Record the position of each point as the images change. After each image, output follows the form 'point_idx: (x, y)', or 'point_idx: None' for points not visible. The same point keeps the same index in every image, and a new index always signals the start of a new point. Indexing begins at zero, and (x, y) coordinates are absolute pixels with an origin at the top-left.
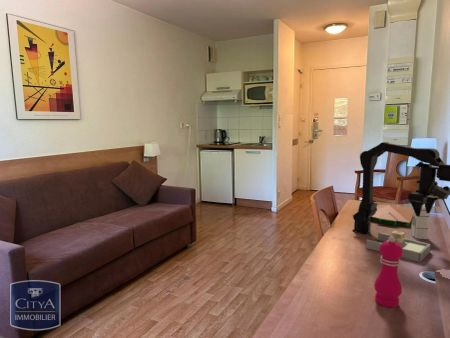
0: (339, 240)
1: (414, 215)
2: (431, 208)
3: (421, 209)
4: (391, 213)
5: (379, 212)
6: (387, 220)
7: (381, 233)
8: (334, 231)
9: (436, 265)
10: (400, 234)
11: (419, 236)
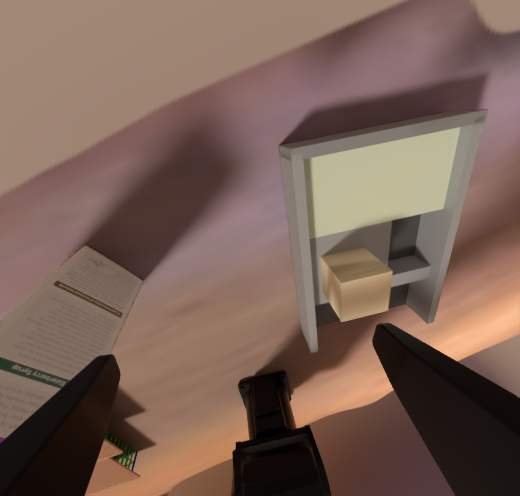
0: None
1: None
2: (30, 428)
3: (485, 402)
4: None
5: None
6: None
7: (317, 342)
8: (331, 408)
9: (443, 35)
10: (389, 277)
11: (122, 275)
